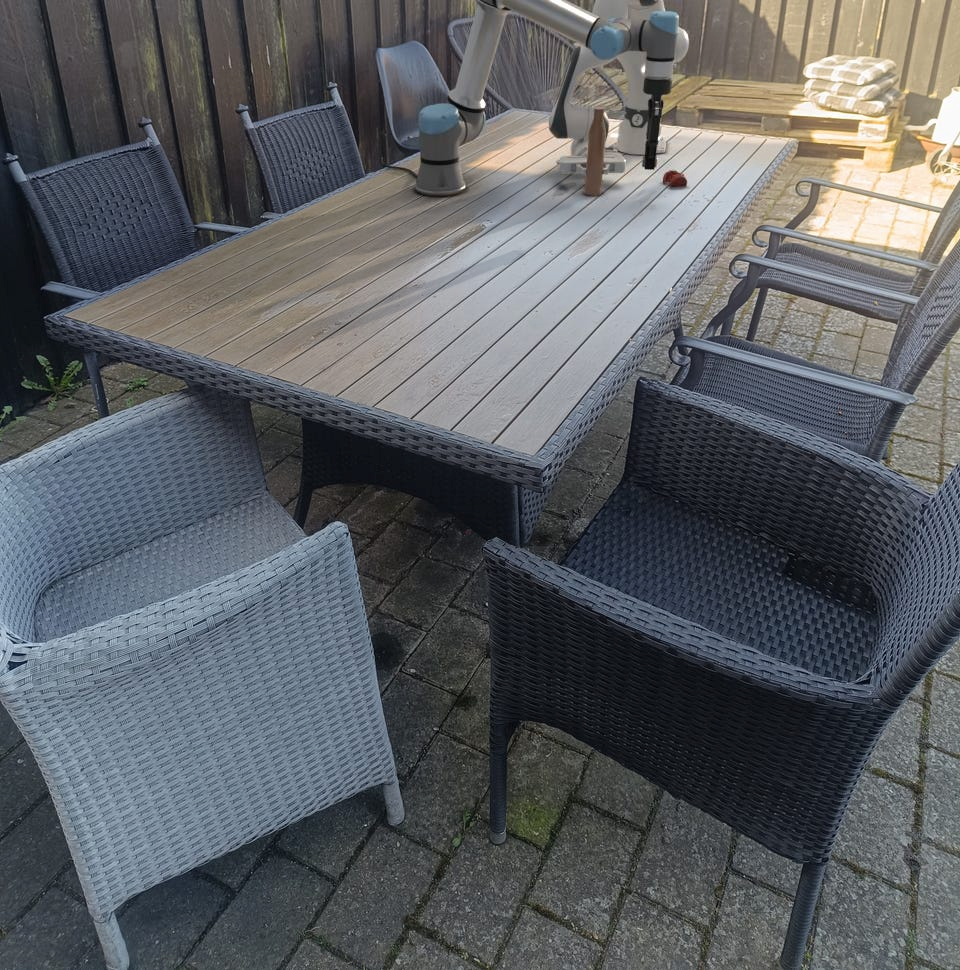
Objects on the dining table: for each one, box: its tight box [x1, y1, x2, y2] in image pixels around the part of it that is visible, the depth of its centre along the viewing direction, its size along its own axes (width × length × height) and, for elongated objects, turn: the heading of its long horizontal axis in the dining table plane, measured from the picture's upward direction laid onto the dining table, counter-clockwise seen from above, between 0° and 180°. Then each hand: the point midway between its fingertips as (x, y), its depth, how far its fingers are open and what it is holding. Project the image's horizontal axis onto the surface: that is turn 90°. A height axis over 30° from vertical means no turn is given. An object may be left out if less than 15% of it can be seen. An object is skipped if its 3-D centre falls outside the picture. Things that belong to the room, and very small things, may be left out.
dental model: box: [662, 169, 688, 188], centre depth 261 cm, size 6×4×8 cm
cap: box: [641, 155, 658, 169], centre depth 240 cm, size 4×4×2 cm
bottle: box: [583, 106, 607, 197], centre depth 249 cm, size 5×5×24 cm
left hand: (648, 166), depth 240 cm, fingers closed on cap, 4 cm apart
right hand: (594, 171), depth 251 cm, fingers closed on bottle, 5 cm apart
